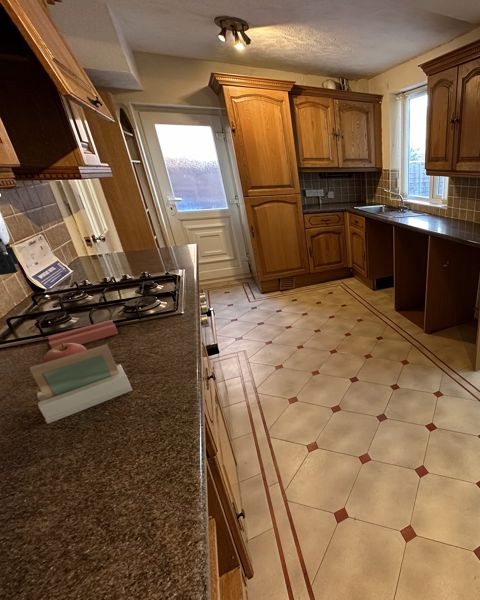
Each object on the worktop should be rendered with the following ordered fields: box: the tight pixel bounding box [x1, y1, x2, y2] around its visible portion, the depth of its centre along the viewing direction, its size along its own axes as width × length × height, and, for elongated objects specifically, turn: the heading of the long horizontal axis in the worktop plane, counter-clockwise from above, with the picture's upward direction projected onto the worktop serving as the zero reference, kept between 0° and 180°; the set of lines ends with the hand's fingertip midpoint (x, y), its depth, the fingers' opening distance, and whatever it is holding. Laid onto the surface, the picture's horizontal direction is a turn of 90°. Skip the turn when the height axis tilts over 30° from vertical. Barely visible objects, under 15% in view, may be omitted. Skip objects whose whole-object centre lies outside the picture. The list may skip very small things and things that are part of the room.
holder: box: [36, 364, 133, 425], centre depth 72 cm, size 8×14×4 cm, turn 138°
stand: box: [47, 319, 119, 349], centre depth 94 cm, size 8×14×4 cm, turn 138°
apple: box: [42, 343, 88, 363], centre depth 81 cm, size 8×8×8 cm
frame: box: [29, 343, 119, 400], centre depth 70 cm, size 2×12×10 cm, turn 138°
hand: (8, 268), depth 74 cm, fingers open, 9 cm apart
